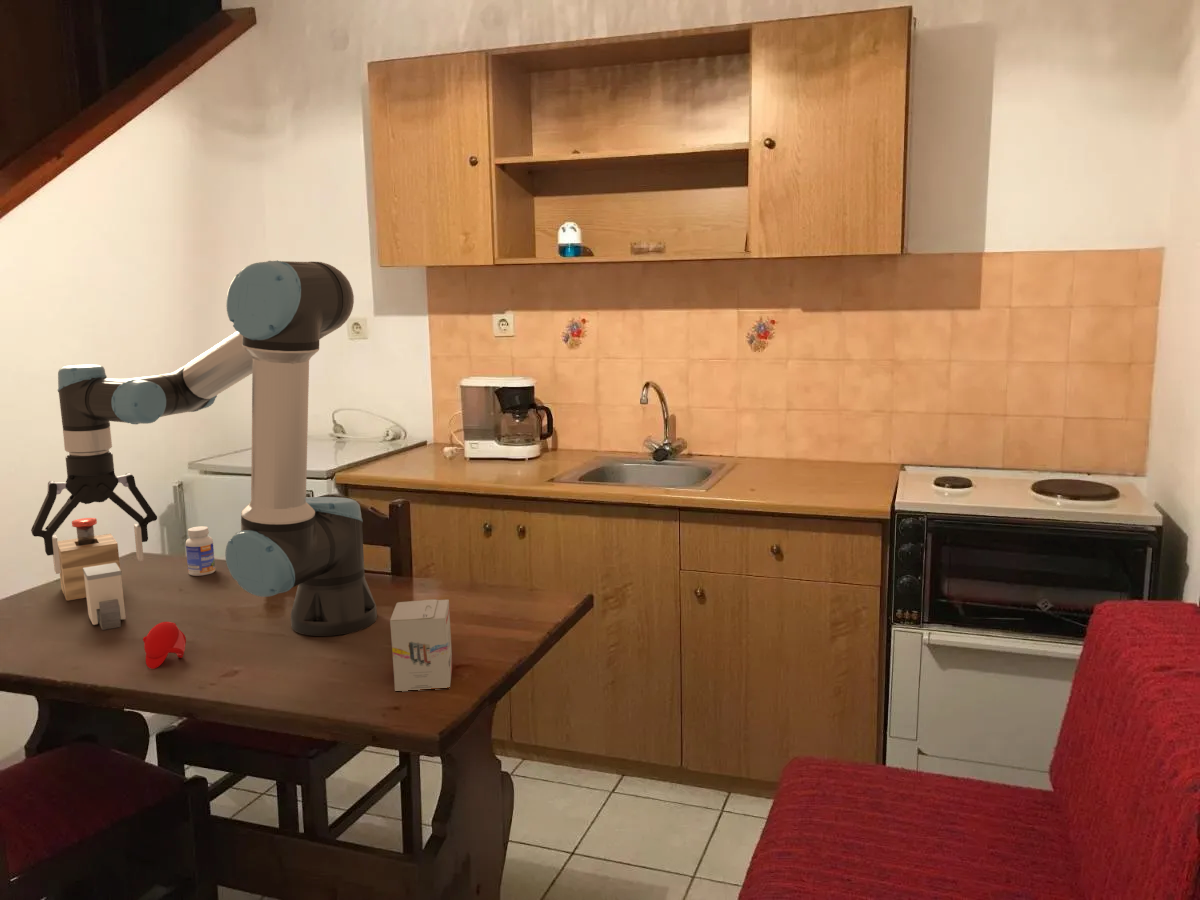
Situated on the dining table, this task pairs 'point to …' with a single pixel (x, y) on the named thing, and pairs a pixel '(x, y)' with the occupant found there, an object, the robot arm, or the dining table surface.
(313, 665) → the dining table surface
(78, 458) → the robot arm
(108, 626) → the rail
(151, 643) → the cap
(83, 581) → the wooden red button box
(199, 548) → the pill bottle
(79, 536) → the red push button
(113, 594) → the block
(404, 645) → the ink box
